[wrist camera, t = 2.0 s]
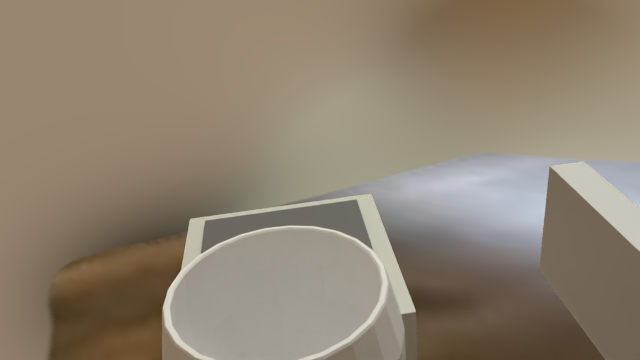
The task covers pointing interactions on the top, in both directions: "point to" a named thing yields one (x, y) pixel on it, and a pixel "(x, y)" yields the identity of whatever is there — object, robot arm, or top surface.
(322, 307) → the cup
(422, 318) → the top surface
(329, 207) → the stand
